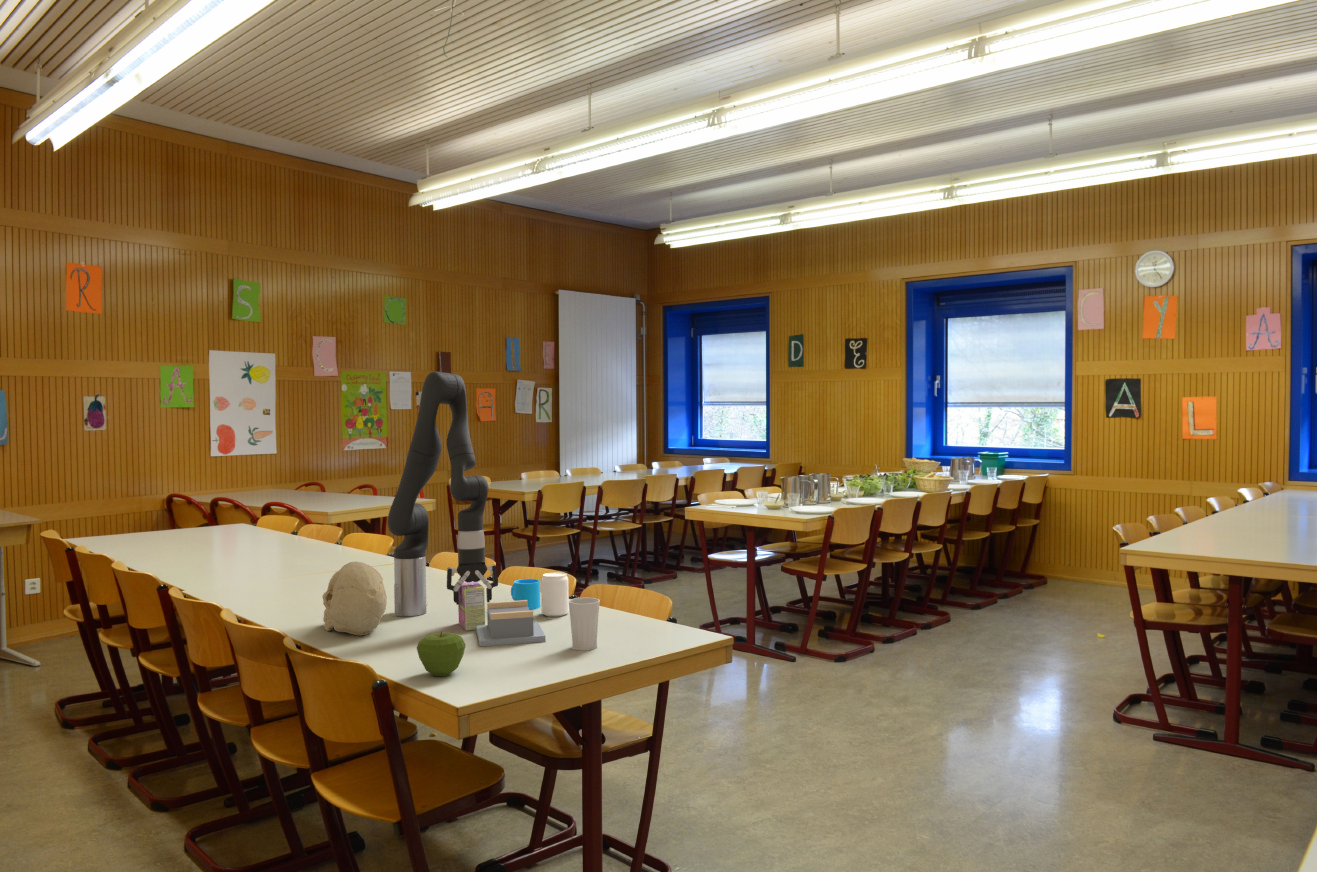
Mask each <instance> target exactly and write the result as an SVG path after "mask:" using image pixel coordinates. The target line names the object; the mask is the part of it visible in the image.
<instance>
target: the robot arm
mask: <svg viewBox="0 0 1317 872" xmlns="http://www.w3.org/2000/svg"><path fill="white" fill-rule="evenodd" d="M467 400H468V399H467V390H466V385H465V380H464V379H463V377H462V376H461V375H459V374H458V373H457V374H456V373H450V372H443V371H431V372H429V373H428V374H427V375H426V377H425V379H424V381H423V385H422V389H421V394H420V401H419V406H418V412H417V413H418V414H417V418H416V422H415V426H414V431H413V434H412V439H411V441H410V444H409V448H408V453H407V455H406V461H405V464H404V468H403V472H402V475H401V476H400V477H401V478H400V481H399V485H398V488H397V490H396V493H395V496H394V499H393V501H392V503H391V506H390V508H389V510H388V515H387V527H388V529H389V532H390V533H391V534H392V535H394V536H397V537H403V536H404V537H403V540H402V541H401V543H400V544H399V545H397V546H396V547H395V548H394V549H393V550H394V551H393V558H394V559H393V562H394V563H393V565H394V567H393V570H394V573H393V574H394V578H393V579H394V585H393V591H394V592H393V593H394V596H393V598H394V600H393V601H394V616H395V617H415V616H421V615H425V614H426V613H427V605H428V604H427V566H426V563H427V561H426V558H427V557H426V555H427V554H426V552H427V549H428V547H429V546H428V545H429V530H430V529H429V527H430V524H429V523H430V521H429V514H428V511H427V509H426V507H425V506H424V505H422V503H421V504H420V503H417V499H418V497H419V494H420V492H422V489H423V488H424V487H425V486H426V485H427V483H428V482H429V480H431V478H432V476H433V475H434V474H435V472H436V471H437V468H438V465H439V462H440V458H441V455H442V450H443V445H442V439H441V436H440V433H439V429H438V427H437V415H438V410H439V406H440V404H441V405H448V406H449V408H450V411H451V424H450V427H449V429H448V433H447V438H446V448H447V453H448V457H449V463H450V486H449V487H450V488H449V489H450V490H449V491H450V494H451V496H452V497H453V499H454V500H455V501H457V502H470V505H469V507H467V508H464V509H462V510H460V511H459V512H458V513H457V544H456V545H457V559H458V560H457V561H458V563H457V567H449V566H448V567H447V569H446V589H447V590H449V591H452V592H453V602H454V604H456V606H458V605H459V591H458V589H459V588H460V586H461V585H462V584H463V583H465V582H467V583H468V582H478V583H479V582H480V581H481V582H482V583H483V584H484V585H485V587H486V589H485V590H486V603H488V602H490V601H492V599H493V593H492V589H493V588H495V587H498V586H499V580H498V579H499V578H498V567H497V565H496V564H492V565H486V545H485V544H486V542H485V533H484V512H485V508H486V504H487V503H486V502H487V500H488V496H489V484H488V480H487V479H486V478H485V476H483V475H465V472H466V471H469V470H471V469H473V468H474V467H475V466H476V464H477V462H476V461H477V460H476V456H475V452H474V448H473V444H472V440H471V436H470V435H471V434H470V428H469V413H468V401H467ZM488 571H489V573H490V574H492V575H491V576H492V582H489V580H488V579H487V578H486V576H485V575H486V574H487V572H488ZM455 573H457V574H458V575H459V578H458V579H457V581H456V583H455V584H454V585H453V584H452V578H453V576H455Z"/></svg>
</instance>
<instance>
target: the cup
mask: <svg viewBox="0 0 1317 872" xmlns="http://www.w3.org/2000/svg"><path fill="white" fill-rule="evenodd" d="M600 602H601V601H600V599H599V598H595V597H577V598H571V599H569V618H570V620H569V621H570V628H571V629H570V630H571V642H572V649H573V650H576V651H591V650H595V649H597V648H598V633H599V631H598V630H599V628H598V627H599V616H600V615H599V614H600V604H601V603H600Z"/></svg>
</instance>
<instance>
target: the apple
mask: <svg viewBox="0 0 1317 872" xmlns="http://www.w3.org/2000/svg"><path fill="white" fill-rule="evenodd" d="M465 648H466V643H465V640H464V638H463V637H462V636H461V635H459V634H457V633H454V632H443V631H441V632H436V633H429V634H427V635H425V636H423V638H421V639H420V640H419V641H418V643H417V646H416V651H417V654H418V658H419V660H420V662H421V663H422V665H423V667H424V669H425V672H428V673H429V674H431V676H435V677H447V676H449V675H451V674H452V673H453V672H455V671H456V670H457V669H458V667H459V665H460V663H461V662H462V659H463V657H464V654H465V651H466V649H465Z"/></svg>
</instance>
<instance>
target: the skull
mask: <svg viewBox="0 0 1317 872" xmlns="http://www.w3.org/2000/svg"><path fill="white" fill-rule="evenodd" d="M383 580H384V579H383V577H382V575H381V573H380V572H379V571H378V570H377V569H376V568H375V567H374V566H371V565H369V564H367V563H365V562H361V561H351V562H348V563H345V564H344V565H342V567H341V568H340V569H339V570H338V571H336V572H334V574H333V575H332V576H331V578H330V579H329V582H328V585H327V589H326V591H325V592H323V594H322V601H323V602H322V603H323V604H322V605H323V606H324V608H325V609H324V611H323V618H322V619H323V622H324V628H325V630H326V631H327V632H330V631H332V630H333V628H334V631H336V632H339V633H340V632H341V633H342V632H343V633H344V632H345V633H347V634H350V635H354V636H367V635H370V634H371V633H372V632H373V631H374V630H376V629H377V627H378V626H379V624H380V622H381V620H382V618H383V616H384V615H385V612H386V609H387V603H388V602H387V600H388V596H387V593H386V589H385V584H384V581H383Z"/></svg>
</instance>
